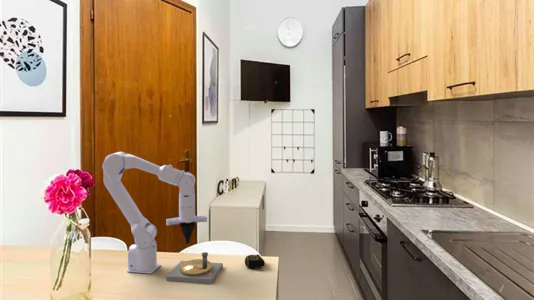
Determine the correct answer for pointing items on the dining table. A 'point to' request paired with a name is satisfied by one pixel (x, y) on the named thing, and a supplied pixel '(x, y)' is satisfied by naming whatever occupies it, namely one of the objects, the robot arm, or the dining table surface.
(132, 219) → the robot arm
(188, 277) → the stand
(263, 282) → the dining table surface
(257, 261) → the tape measure
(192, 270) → the brass disc with crank
